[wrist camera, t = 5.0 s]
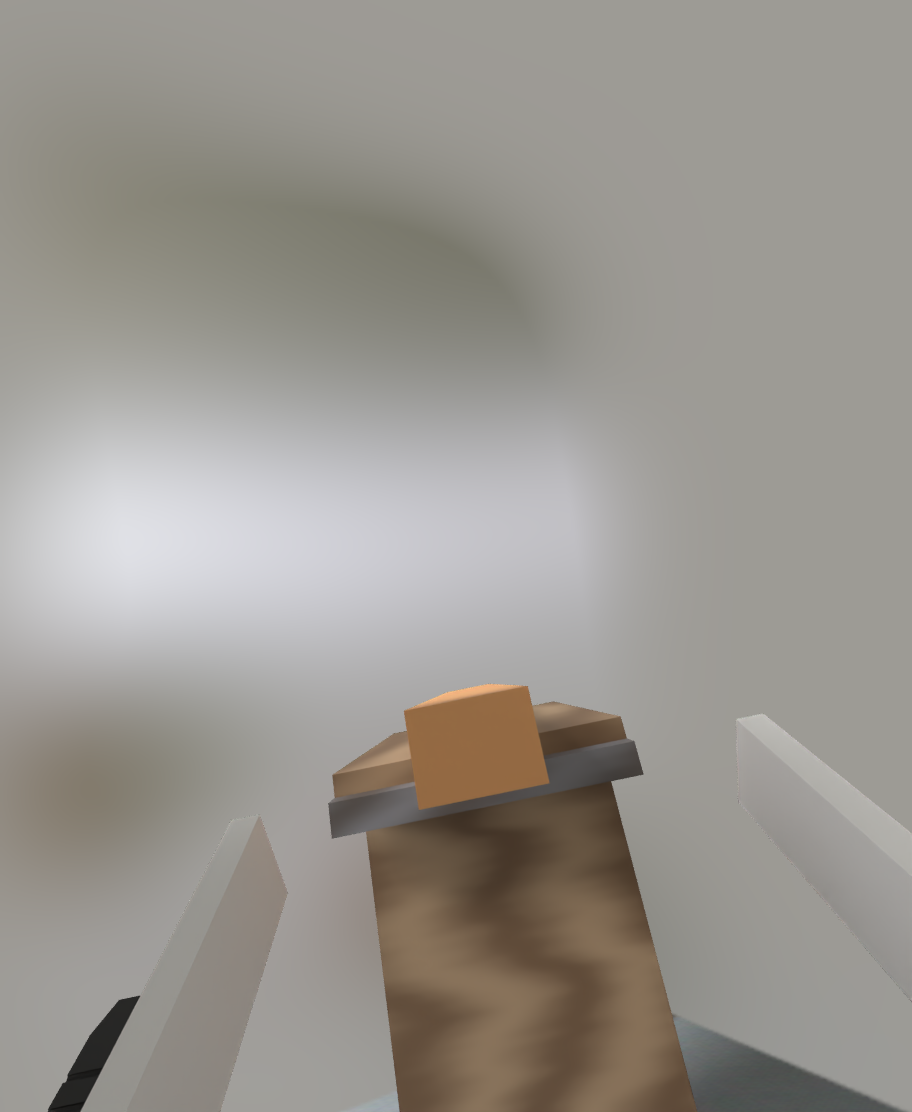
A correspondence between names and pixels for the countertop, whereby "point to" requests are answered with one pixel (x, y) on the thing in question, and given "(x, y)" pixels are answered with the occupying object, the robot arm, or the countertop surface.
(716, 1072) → the countertop surface
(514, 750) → the tan flat bar
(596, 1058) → the tower
